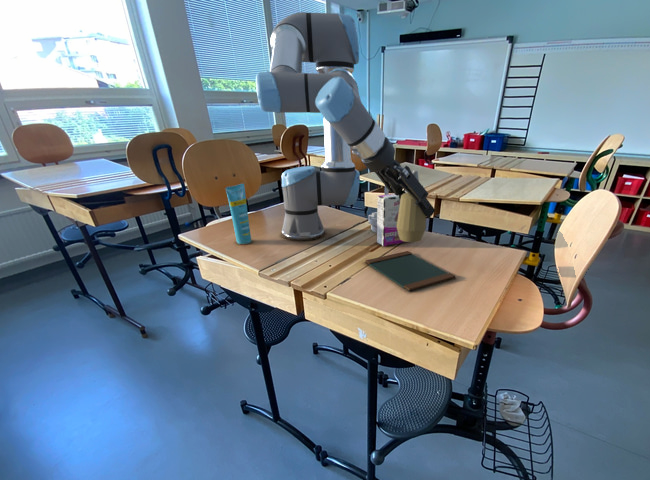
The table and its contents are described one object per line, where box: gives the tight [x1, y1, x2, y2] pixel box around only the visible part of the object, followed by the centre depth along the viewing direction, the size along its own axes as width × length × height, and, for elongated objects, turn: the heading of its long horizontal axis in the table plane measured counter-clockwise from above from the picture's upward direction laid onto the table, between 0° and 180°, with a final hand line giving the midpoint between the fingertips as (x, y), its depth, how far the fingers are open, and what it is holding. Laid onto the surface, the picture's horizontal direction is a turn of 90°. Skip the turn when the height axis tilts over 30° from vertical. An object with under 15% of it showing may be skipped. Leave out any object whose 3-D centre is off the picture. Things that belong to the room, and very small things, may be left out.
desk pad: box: [364, 250, 456, 293], centre depth 98 cm, size 22×16×1 cm
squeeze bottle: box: [397, 169, 427, 243], centre depth 89 cm, size 8×8×18 cm
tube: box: [225, 182, 252, 245], centre depth 113 cm, size 7×5×19 cm, turn 157°
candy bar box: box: [376, 193, 406, 248], centre depth 115 cm, size 11×5×16 cm, turn 118°
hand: (422, 211), depth 91 cm, fingers closed on squeeze bottle, 6 cm apart
